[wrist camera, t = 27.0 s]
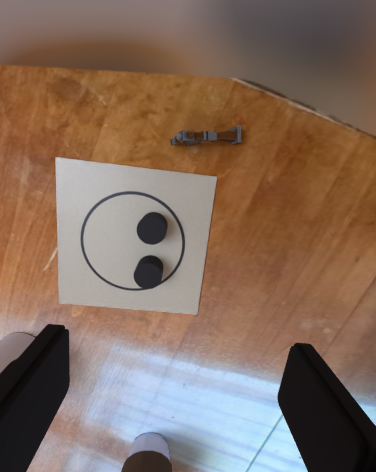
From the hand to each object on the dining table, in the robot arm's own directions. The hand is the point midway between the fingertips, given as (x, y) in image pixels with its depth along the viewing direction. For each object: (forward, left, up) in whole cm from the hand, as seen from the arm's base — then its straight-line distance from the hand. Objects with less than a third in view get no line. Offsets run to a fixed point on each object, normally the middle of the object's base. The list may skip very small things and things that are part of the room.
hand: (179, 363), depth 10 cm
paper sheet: (+2, -6, -22) cm, 23 cm away
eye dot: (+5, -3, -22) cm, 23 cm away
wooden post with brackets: (-12, +2, -22) cm, 26 cm away
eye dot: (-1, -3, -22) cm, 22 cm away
